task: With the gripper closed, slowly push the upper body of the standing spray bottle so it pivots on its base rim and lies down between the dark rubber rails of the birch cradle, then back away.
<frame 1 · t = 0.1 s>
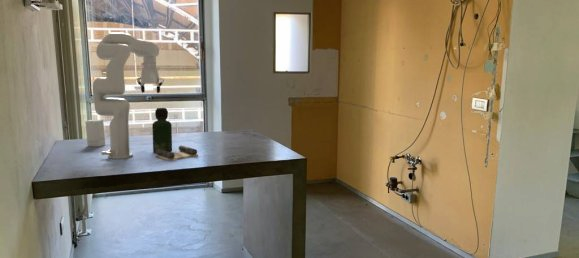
hand: (150, 92, 274), 31 cm above the table, tool pointing down, fingers open, 9 cm apart
cradle: (176, 156, 239), on the table
skincare box: (96, 146, 262), on the table
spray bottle: (162, 152, 249), on the table
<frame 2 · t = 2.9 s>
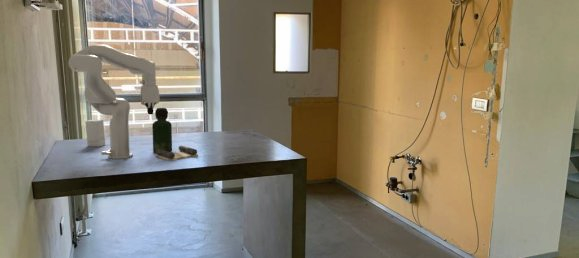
hand: (150, 114, 255), 20 cm above the table, tool pointing down, fingers closed
nothing on the table moved.
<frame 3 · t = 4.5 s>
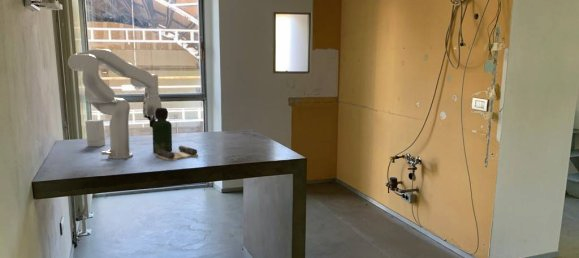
hand: (152, 127, 254), 13 cm above the table, tool pointing down, fingers closed
nothing on the table moved.
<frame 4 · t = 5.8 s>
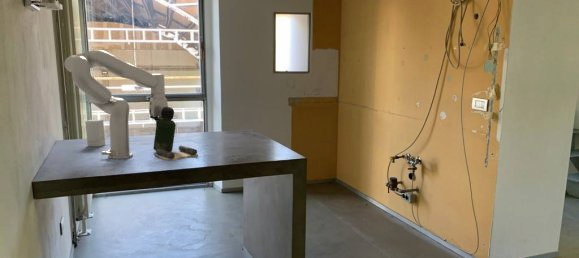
hand: (159, 127, 250), 13 cm above the table, tool pointing down, fingers closed
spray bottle: (162, 150, 249), point 1 cm above the table, touching gripper
everything else where it was.
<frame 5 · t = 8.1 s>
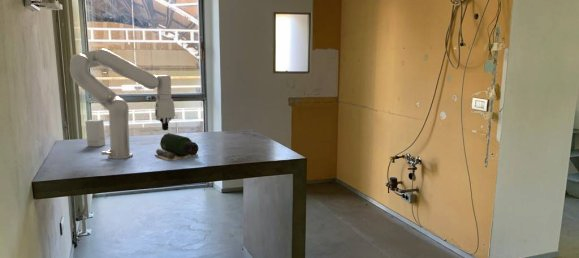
hand: (165, 129, 245), 13 cm above the table, tool pointing down, fingers closed
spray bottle: (167, 142, 245), point 6 cm above the table, touching cradle
everything else where it was.
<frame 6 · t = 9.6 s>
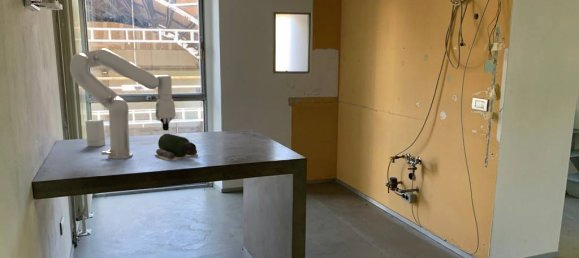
hand: (165, 130, 244), 13 cm above the table, tool pointing down, fingers closed
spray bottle: (165, 142, 244), point 6 cm above the table, touching cradle
everything else where it was.
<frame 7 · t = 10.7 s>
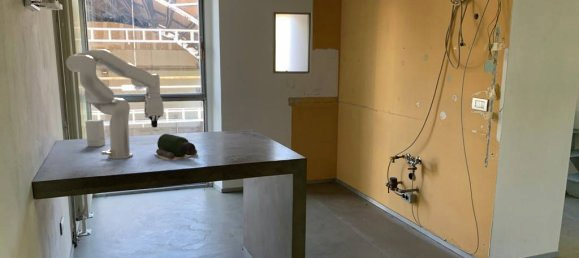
hand: (154, 127, 253), 13 cm above the table, tool pointing down, fingers closed
nothing on the table moved.
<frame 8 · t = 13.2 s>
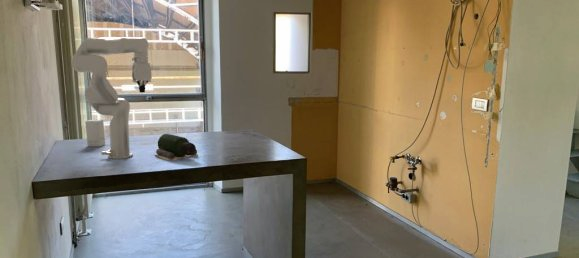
hand: (142, 92, 252), 33 cm above the table, tool pointing down, fingers closed
nothing on the table moved.
at the end: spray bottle tilted 90°; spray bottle inside the target area on the cradle (12.1 cm from its centre), point 6.1 cm above the cradle's base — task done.
